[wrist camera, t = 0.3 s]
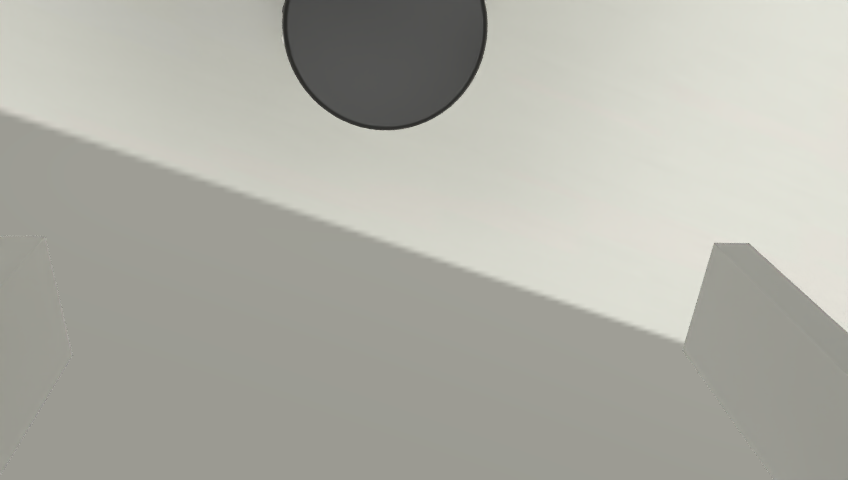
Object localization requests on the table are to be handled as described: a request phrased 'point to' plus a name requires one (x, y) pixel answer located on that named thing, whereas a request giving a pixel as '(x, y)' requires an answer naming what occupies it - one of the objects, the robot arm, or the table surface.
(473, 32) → the jar
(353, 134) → the table surface
